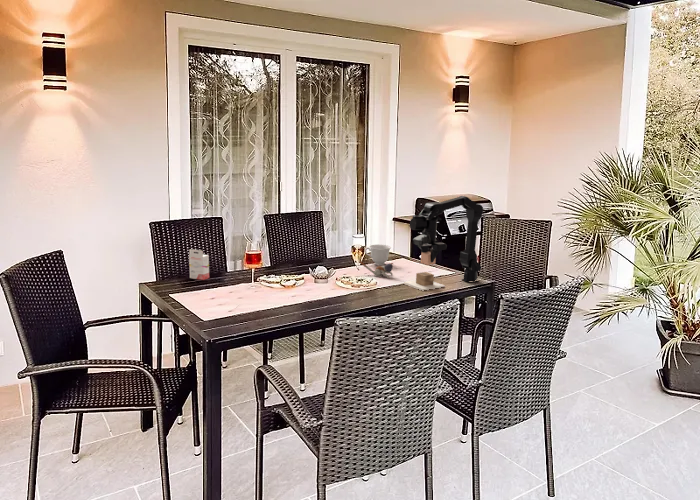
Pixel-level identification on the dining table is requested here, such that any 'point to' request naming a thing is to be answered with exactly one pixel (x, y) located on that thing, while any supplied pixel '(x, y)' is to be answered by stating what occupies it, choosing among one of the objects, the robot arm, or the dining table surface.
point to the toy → (381, 270)
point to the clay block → (427, 258)
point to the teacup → (379, 253)
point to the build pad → (420, 287)
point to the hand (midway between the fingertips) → (428, 261)
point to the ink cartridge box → (198, 265)
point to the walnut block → (424, 278)
